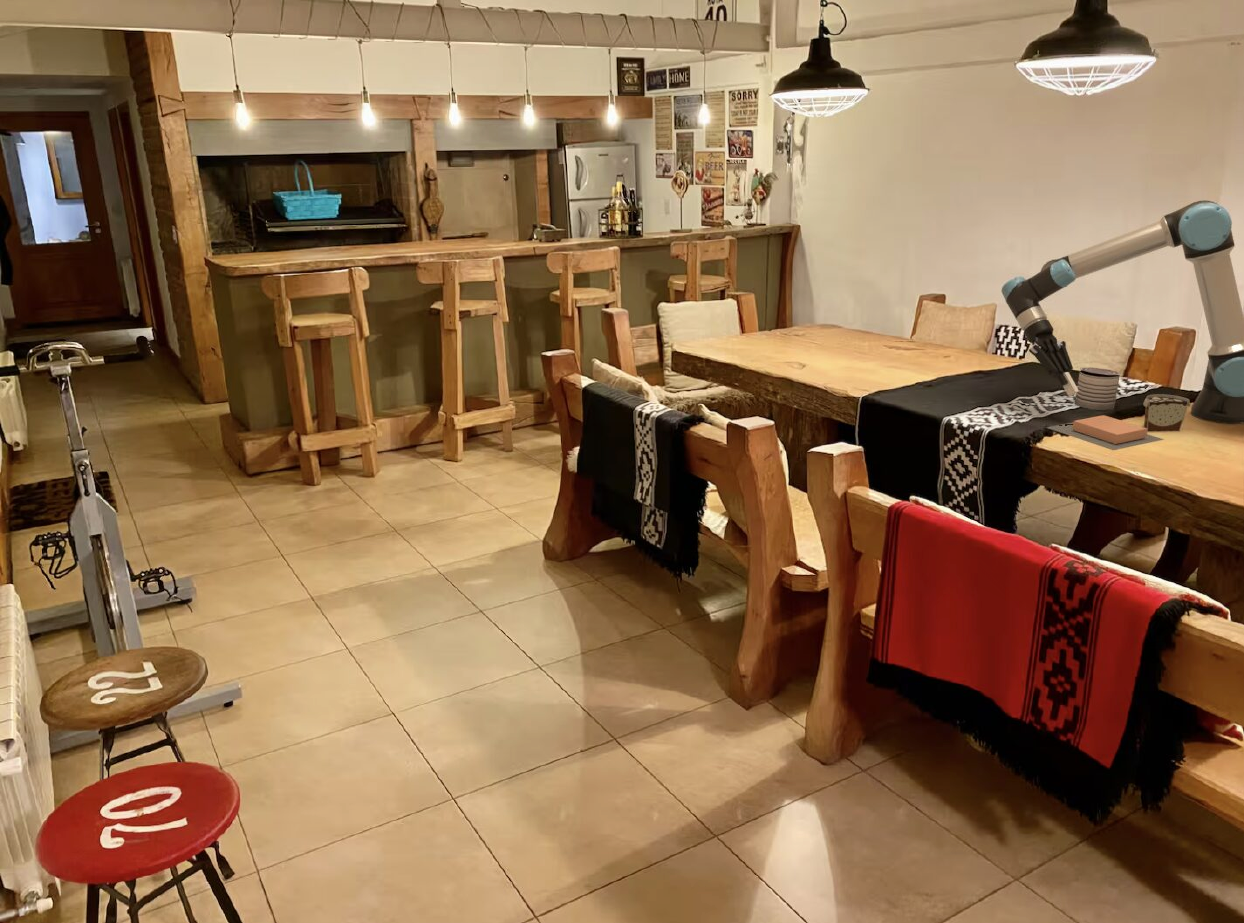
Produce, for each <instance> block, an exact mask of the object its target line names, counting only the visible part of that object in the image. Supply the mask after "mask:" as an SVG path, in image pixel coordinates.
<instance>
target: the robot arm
mask: <svg viewBox="0 0 1244 923" xmlns="http://www.w3.org/2000/svg"><path fill="white" fill-rule="evenodd" d="M1232 224H1233V222H1232V217H1231V216H1230V213H1229V211H1227V209H1226V208H1225V207H1223V206H1221V205H1219V204H1218V203H1217V202H1214V201H1210V200H1198V201H1194V202H1192V203H1189V204H1187V205H1184V206H1183V207H1181V208H1180V209H1177V210H1175V211H1172V212H1170V213H1168V214H1165V215H1162V217H1161V218H1160V219H1159V221H1156V222H1154V223H1151V224H1148V225H1146V226H1145V225H1144V226H1143V227H1139V228H1138V229H1134V230H1132V231H1129V232H1127V233H1125V234H1124V233H1123V234H1121V235H1119V236H1115V237H1113V238H1110V239H1108V240H1105V241H1103V242H1100V243H1097V244H1093V245H1092V246H1089V247H1087V248H1084V249H1082V250H1078V251H1076V252H1073V253H1071V254H1068V255H1064V256H1062V257H1061V258H1055V259H1051V260H1049V261H1047V262H1046V263H1045V264H1043V266H1042V267H1041V269H1040V272H1038V273H1036V274H1035V275H1032V277H1030V278H1028V279H1026V278H1025V277H1023V276H1017V277H1015V278H1012V279H1010V280H1008V281H1007V282H1005V283H1004V284H1003V286H1002V287H1001V293H1002V295H1003V298H1004V300H1005V303H1006V304H1007V306H1008V308H1009V309H1010V310H1011V312H1012V314H1013V316H1014V318H1015V320H1016V321H1017V323H1018V325H1019V327H1020V329H1021V330H1022V331H1023V335H1024V336H1025V338H1026V340H1027V341H1028V343H1031V344H1032V346H1031V347H1030V349H1028V352H1029V353H1030V354H1031V355H1033V356H1034V357H1035V358H1036V360H1037V361H1038V362H1039V364H1040V365H1041V366H1042V367H1043V369H1044V370H1045V371H1046V372H1047V374H1048V375H1049V376H1051V377H1052V379H1056V378H1057V380H1058V381H1059V383H1060V385H1061V386H1062V387H1063V389H1064V390H1065V392H1066V394H1067V396H1068V397H1073V396H1075V395H1076V393H1077V392H1079V390H1078V388H1077V386H1078V385H1076V383H1075V380H1074V378H1073V376H1072V374H1071V373H1070V372H1071V371H1072V370H1073V369H1074V367H1073V364H1072V362H1071V358H1070V356H1069V353H1068V350H1067V344H1066V343H1067V342H1066V341H1064V340H1062V341H1059V340H1058V339H1057V337H1056V336H1055V334H1054V327H1053V325H1052V324H1051V322H1050V320H1048V316H1047V315H1046V313H1045V311H1044V310H1043V308H1042V306H1041V305H1040V302H1041V301H1043V300H1045V299H1046V298H1048V297H1050V296H1051V295H1053V294H1055V293H1057V292H1058V291H1060V290H1062V289H1064V288H1067V287H1068V286H1069V285H1071V284H1072V283H1073V282H1075V281H1076V279H1079V278H1083V277H1084V276H1087V275H1090V274H1093V273H1096V272H1098V271H1100V270H1103V269H1107V268H1110V267H1113V266H1115V265H1118V264H1121V263H1124V262H1128V261H1130V260H1132V259H1135V258H1138V257H1141V256H1144V255H1146V254H1150V253H1153V252H1155V251H1159V250H1161V249H1164V248H1166V247H1170V248H1173V249H1174V248H1176V247H1177V248H1178V247H1179V246H1181V247H1182V251H1183V254H1184V258H1185V260H1186V261H1189V262H1191V263H1192V264H1193V269H1194V272H1195V277H1196V282H1197V286H1198V290H1199V294H1200V298H1201V302H1202V307H1203V312H1204V316H1205V320H1206V325H1207V329H1208V333H1209V339H1210V342H1211V345H1210V346H1211V347H1209V349H1208V351H1207V352H1206V353H1207V356H1208V360H1207V364H1206V370H1205V375H1204V379H1203V383H1202V384H1203V385H1202V389H1201V390H1200V392H1199V394H1198V395H1197V397H1196V399H1195V401H1194V402H1193V403H1192V405H1191V408H1190V409H1191V410H1190V414H1191V415H1192V416H1194V417H1195V418H1198V419H1202V420H1205V421H1210V422H1213V423H1214V422H1216V423H1221V424H1222V423H1223V424H1244V312H1243V308H1242V303H1241V299H1240V294H1239V291H1238V290H1239V289H1238V285H1237V281H1236V276H1235V272H1234V267H1233V263H1232V259H1231V255H1230V254H1231V252H1232V250H1234V248H1235V247H1236V246H1235V242H1234V241H1235V240H1234V236H1233V232H1232Z"/></svg>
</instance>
